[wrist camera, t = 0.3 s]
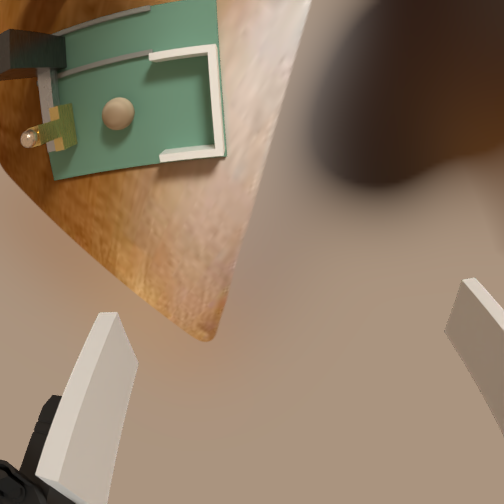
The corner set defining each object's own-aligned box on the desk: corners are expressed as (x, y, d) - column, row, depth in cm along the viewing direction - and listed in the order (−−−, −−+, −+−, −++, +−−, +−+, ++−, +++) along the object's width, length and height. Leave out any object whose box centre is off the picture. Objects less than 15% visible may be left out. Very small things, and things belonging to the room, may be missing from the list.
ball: (107, 99, 30) (94, 102, 27) (137, 93, 30) (126, 95, 27) (111, 130, 32) (99, 135, 29) (140, 124, 32) (130, 129, 29)
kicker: (38, 47, 26) (-20, 45, 16) (68, 35, 26) (12, 27, 16) (50, 150, 32) (-4, 177, 22) (79, 143, 32) (27, 168, 23)
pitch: (38, 41, 26) (34, 41, 25) (216, -3, 26) (215, -5, 25) (56, 179, 35) (52, 181, 34) (226, 155, 35) (226, 157, 34)
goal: (156, 56, 29) (148, 53, 26) (217, 48, 29) (215, 43, 26) (167, 155, 35) (160, 162, 32) (225, 149, 35) (223, 155, 32)
